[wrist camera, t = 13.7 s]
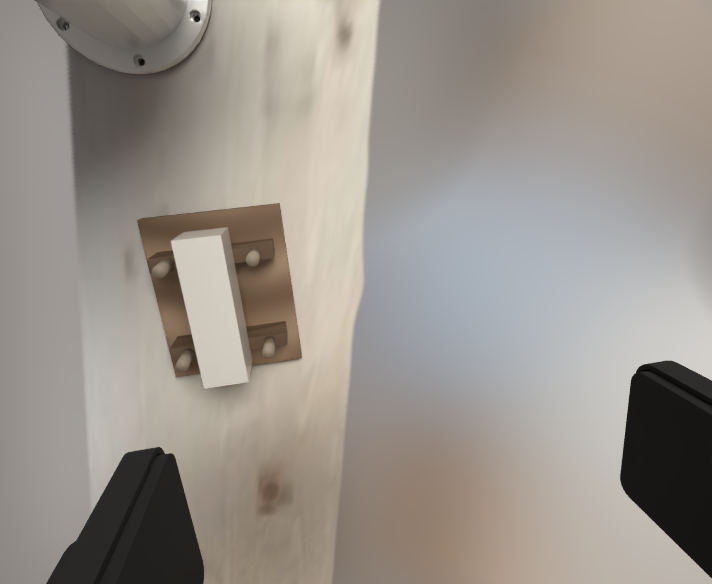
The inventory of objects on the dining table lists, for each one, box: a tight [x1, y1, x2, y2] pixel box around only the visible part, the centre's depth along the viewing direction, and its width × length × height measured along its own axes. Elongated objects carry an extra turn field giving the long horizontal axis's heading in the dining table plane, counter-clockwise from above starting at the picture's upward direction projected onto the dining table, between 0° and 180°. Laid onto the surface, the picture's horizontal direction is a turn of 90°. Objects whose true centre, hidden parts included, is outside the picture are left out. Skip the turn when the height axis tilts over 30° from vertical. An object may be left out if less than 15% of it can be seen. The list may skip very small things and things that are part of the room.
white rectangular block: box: [171, 227, 252, 389], centre depth 35 cm, size 12×4×4 cm, turn 5°
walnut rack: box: [137, 203, 302, 377], centre depth 37 cm, size 15×12×7 cm
